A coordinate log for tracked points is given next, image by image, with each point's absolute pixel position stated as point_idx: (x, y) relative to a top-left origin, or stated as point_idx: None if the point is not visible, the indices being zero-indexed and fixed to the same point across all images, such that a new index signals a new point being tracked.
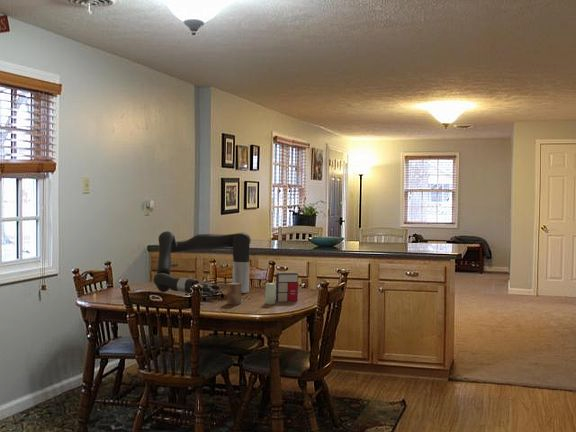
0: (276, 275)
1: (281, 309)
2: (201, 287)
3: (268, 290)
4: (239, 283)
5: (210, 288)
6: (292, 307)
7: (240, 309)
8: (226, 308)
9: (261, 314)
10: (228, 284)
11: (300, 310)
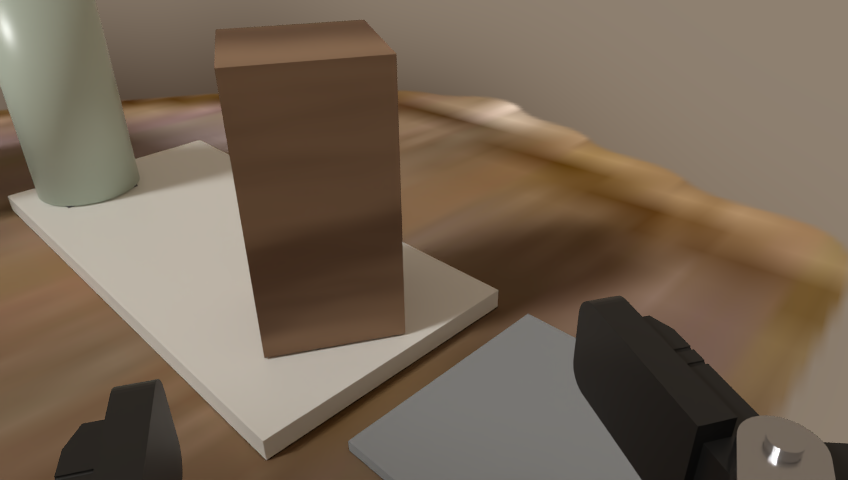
0: None
1: (215, 129)
2: (814, 451)
3: (106, 49)
4: (228, 34)
5: (581, 306)
6: None
7: (443, 213)
8: (526, 278)
9: (454, 115)
10: (391, 59)
11: (176, 96)
